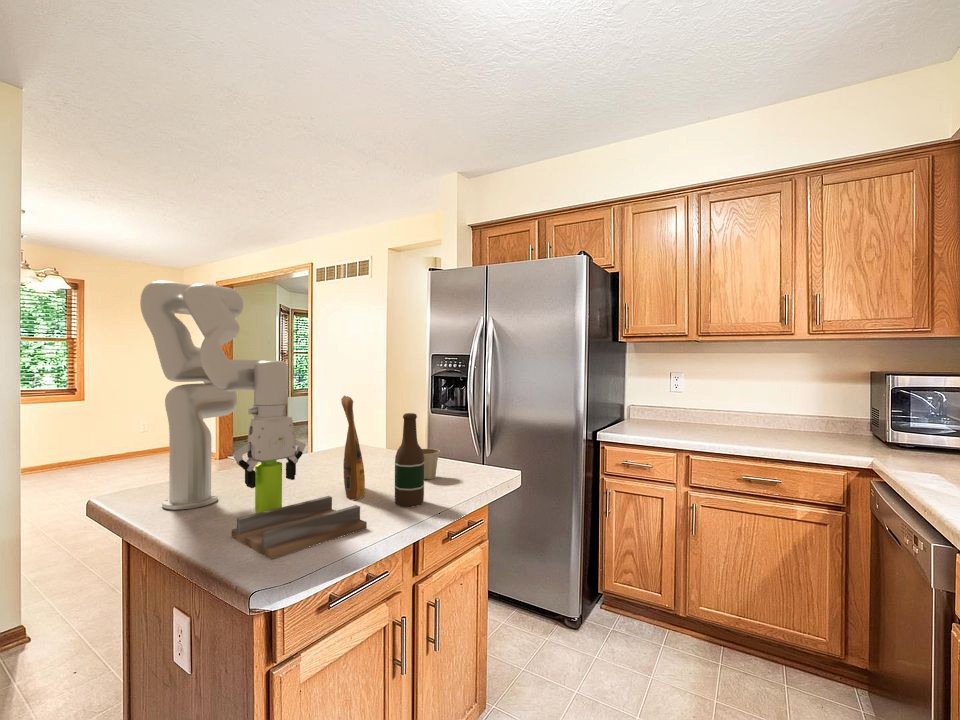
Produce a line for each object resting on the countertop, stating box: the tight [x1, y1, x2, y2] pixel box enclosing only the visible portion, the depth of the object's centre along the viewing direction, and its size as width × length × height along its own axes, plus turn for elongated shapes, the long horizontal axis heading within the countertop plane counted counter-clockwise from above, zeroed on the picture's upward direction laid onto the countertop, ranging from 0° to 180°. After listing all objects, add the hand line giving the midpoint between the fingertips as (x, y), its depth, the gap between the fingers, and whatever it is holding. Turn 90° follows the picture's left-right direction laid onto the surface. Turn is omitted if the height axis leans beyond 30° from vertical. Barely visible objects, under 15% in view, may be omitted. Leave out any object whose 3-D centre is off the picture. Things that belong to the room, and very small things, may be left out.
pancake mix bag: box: [340, 394, 366, 501], centre depth 136 cm, size 7×19×28 cm, turn 16°
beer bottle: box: [394, 412, 425, 508], centre depth 126 cm, size 8×8×24 cm
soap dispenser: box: [254, 438, 283, 514], centre depth 113 cm, size 6×7×20 cm
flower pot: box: [421, 448, 441, 481], centre depth 154 cm, size 9×9×9 cm
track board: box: [231, 495, 368, 560], centre depth 104 cm, size 18×22×4 cm
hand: (271, 482), depth 113 cm, fingers open, 9 cm apart
